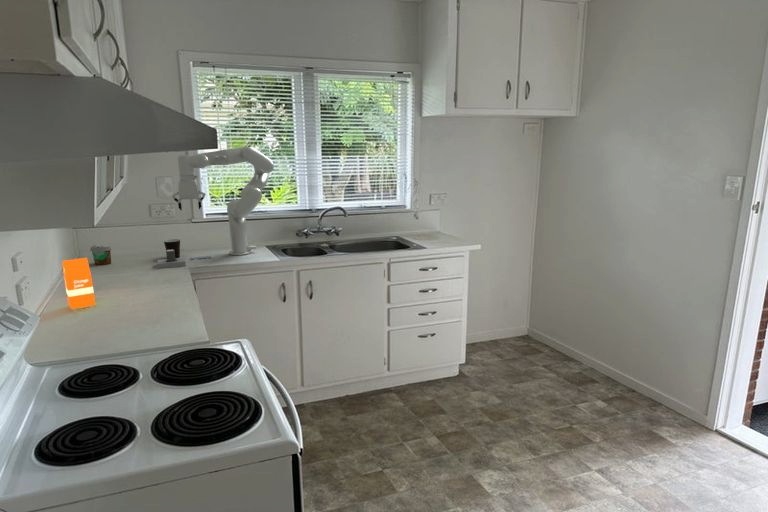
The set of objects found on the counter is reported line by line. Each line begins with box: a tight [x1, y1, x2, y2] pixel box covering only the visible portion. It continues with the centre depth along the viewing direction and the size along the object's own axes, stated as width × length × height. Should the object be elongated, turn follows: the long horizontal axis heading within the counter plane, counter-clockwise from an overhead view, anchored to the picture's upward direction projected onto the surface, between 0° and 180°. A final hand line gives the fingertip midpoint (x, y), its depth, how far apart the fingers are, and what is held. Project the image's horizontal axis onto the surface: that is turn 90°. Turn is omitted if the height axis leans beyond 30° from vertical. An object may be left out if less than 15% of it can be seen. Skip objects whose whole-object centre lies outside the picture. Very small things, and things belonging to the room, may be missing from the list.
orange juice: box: [62, 257, 96, 309], centre depth 206 cm, size 8×9×20 cm
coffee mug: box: [163, 238, 181, 258], centre depth 293 cm, size 12×9×10 cm
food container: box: [89, 244, 112, 266], centre depth 277 cm, size 12×6×10 cm, turn 68°
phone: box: [190, 255, 212, 261], centre depth 290 cm, size 11×6×1 cm, turn 112°
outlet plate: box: [156, 257, 187, 269], centre depth 275 cm, size 14×10×2 cm
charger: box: [165, 249, 176, 262], centre depth 274 cm, size 4×4×8 cm
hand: (190, 209), depth 281 cm, fingers open, 9 cm apart
